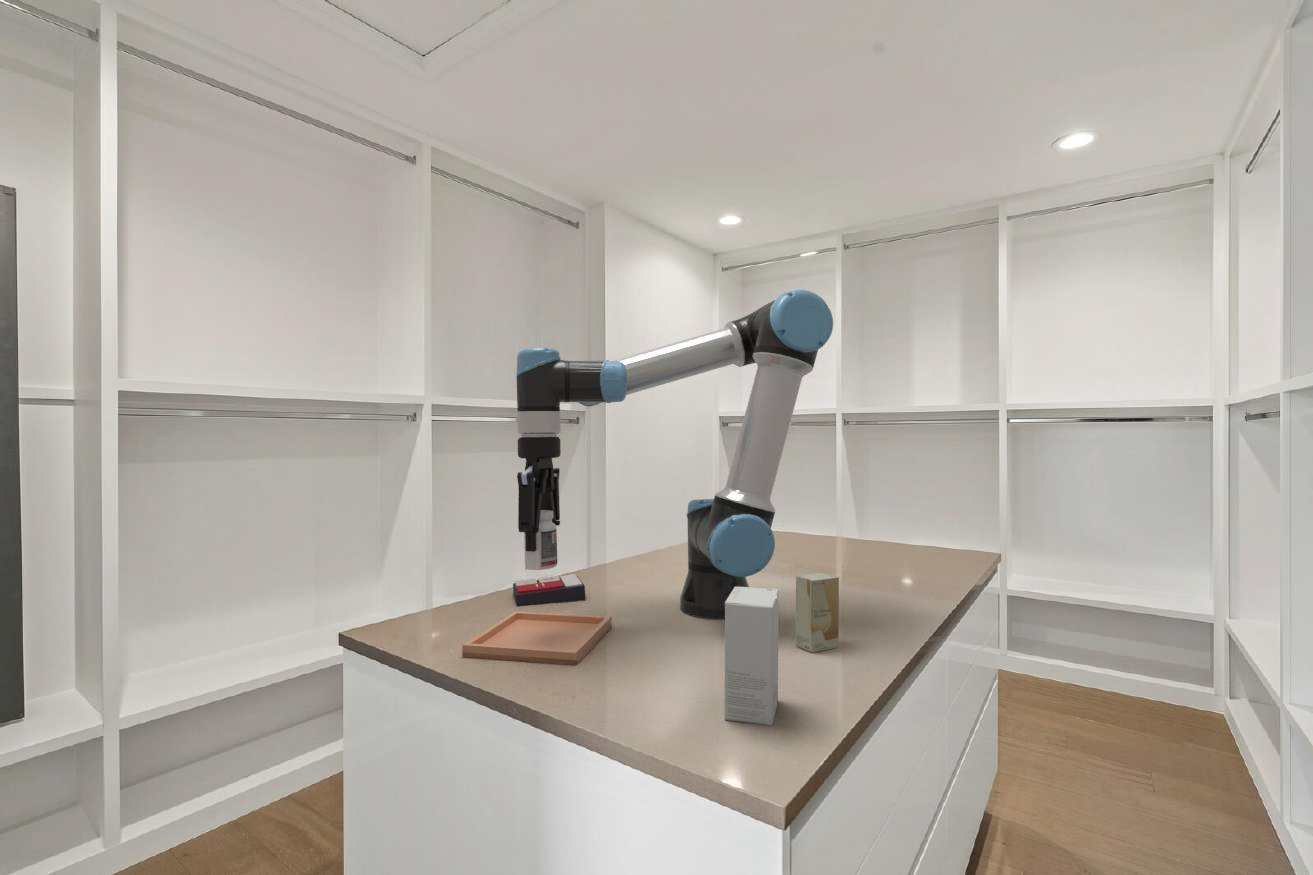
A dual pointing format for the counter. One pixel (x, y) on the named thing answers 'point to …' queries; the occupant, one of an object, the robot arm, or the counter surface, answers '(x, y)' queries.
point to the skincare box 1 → (751, 655)
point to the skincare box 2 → (817, 611)
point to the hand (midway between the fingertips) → (540, 565)
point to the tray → (539, 638)
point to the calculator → (549, 590)
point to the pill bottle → (547, 540)
